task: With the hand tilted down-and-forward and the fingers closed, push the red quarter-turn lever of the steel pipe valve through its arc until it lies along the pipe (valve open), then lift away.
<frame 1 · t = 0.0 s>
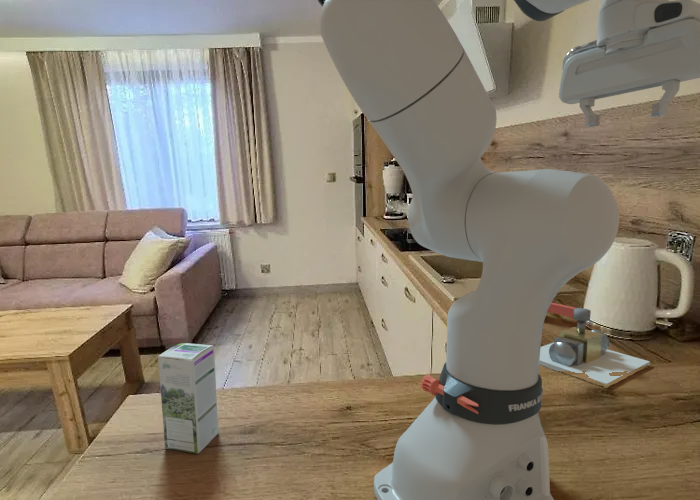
hand: (623, 121, 63), 48 cm above the countertop, tool pointing down, fingers open, 8 cm apart
syrup box: (192, 442, 60), on the countertop
mounting board: (583, 361, 88), on the countertop
valve: (578, 360, 89), resting on mounting board
lever: (561, 309, 91), point 11 cm above the countertop, hinge at 0.0°
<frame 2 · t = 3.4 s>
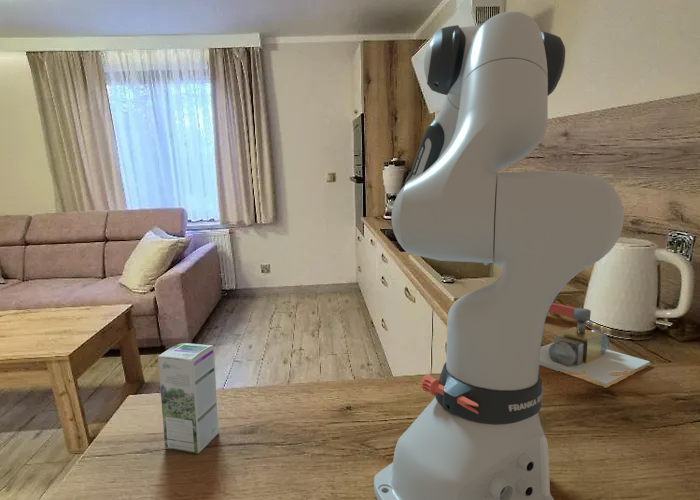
hand: (491, 263, 99), 20 cm above the countertop, tool tilted 45°, fingers closed
nothing on the countertop moved.
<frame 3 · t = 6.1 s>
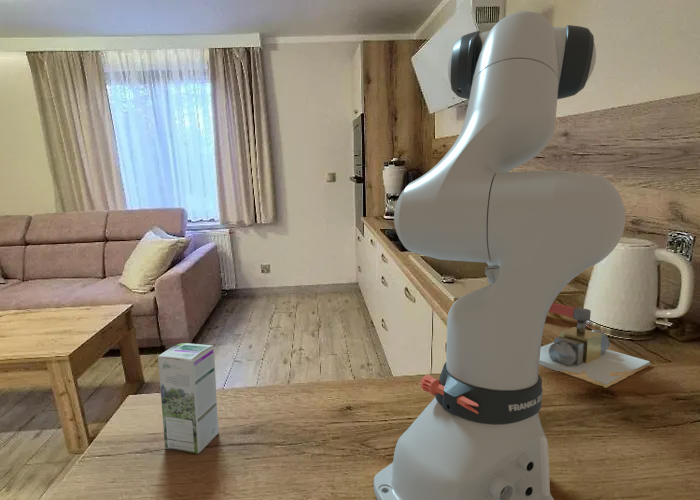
hand: (544, 310, 92), 10 cm above the countertop, tool tilted 45°, fingers closed
lever: (561, 309, 91), point 11 cm above the countertop, hinge at 0.6°, touching gripper
everything else where it was.
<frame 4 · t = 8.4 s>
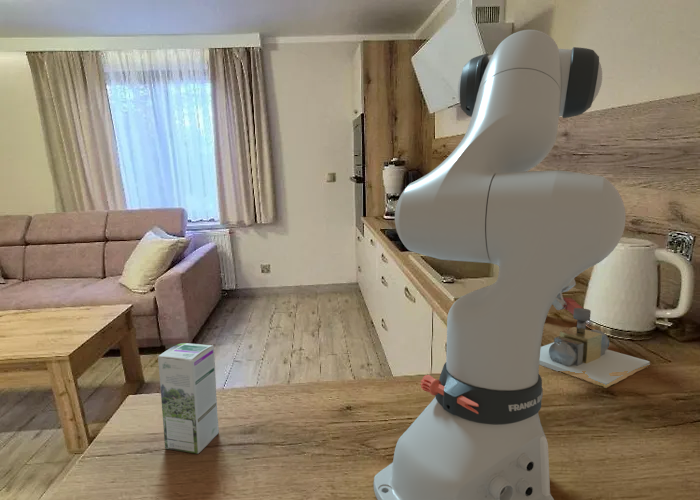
hand: (562, 308, 95), 10 cm above the countertop, tool tilted 45°, fingers closed
lever: (574, 308, 92), point 11 cm above the countertop, hinge at 45.4°, touching gripper
everything else where it was.
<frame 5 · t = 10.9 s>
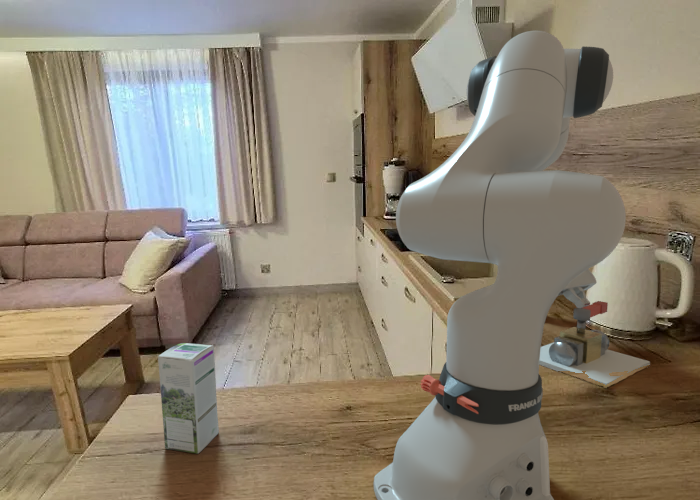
hand: (585, 306, 93), 11 cm above the countertop, tool tilted 45°, fingers closed
lever: (591, 310, 90), point 11 cm above the countertop, hinge at 85.9°
everything else where it was.
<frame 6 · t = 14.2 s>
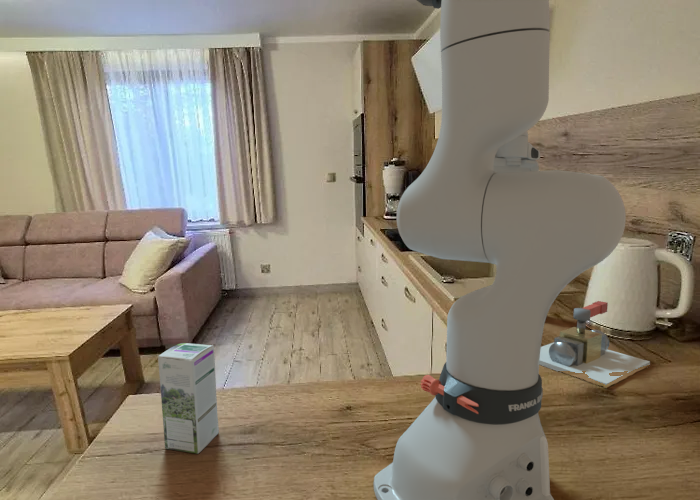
hand: (504, 211, 93), 33 cm above the countertop, tool pointing down, fingers closed
nothing on the countertop moved.
at the end: lever at +86° (first picture: +0°); lever touching nothing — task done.
